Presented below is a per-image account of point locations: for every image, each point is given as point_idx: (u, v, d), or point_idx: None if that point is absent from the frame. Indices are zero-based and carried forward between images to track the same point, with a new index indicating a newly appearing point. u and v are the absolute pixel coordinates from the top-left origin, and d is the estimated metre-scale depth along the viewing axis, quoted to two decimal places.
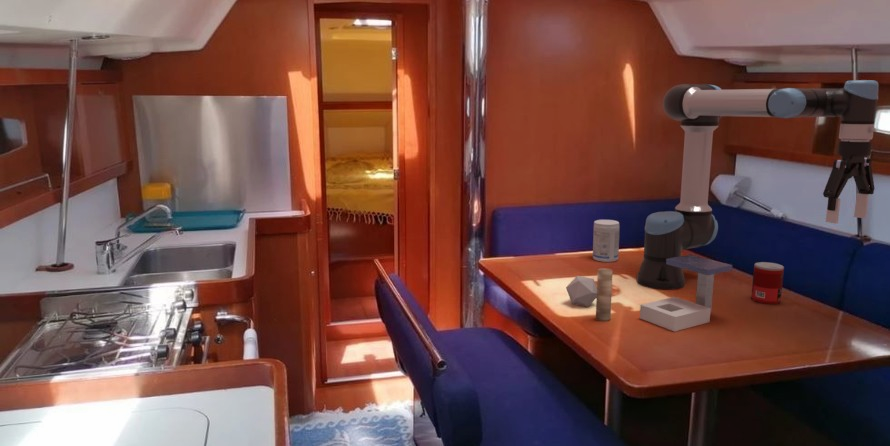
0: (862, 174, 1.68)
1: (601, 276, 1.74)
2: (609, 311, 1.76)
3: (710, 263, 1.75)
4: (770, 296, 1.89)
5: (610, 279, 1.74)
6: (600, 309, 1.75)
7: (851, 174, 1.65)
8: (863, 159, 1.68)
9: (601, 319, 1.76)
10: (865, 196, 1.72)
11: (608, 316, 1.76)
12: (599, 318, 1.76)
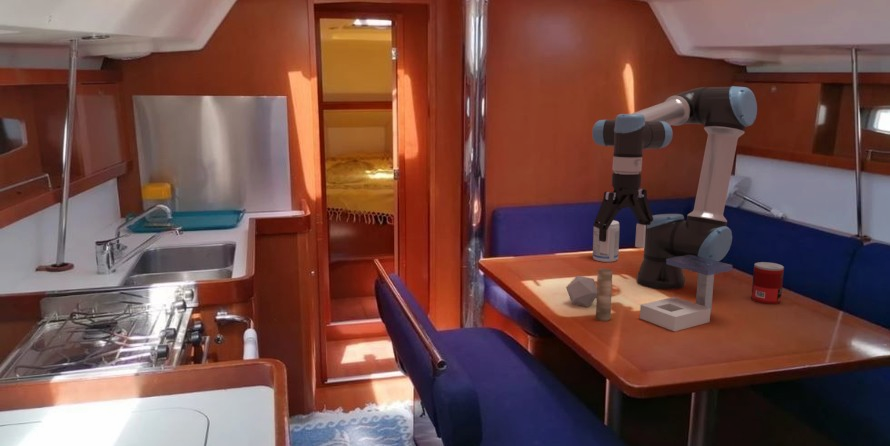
0: (635, 205, 1.71)
1: (601, 276, 1.74)
2: (609, 311, 1.76)
3: (710, 263, 1.75)
4: (770, 296, 1.89)
5: (610, 279, 1.74)
6: (600, 309, 1.75)
7: (621, 206, 1.68)
8: (636, 191, 1.71)
9: (601, 319, 1.76)
10: (642, 227, 1.75)
11: (608, 316, 1.76)
12: (599, 318, 1.76)
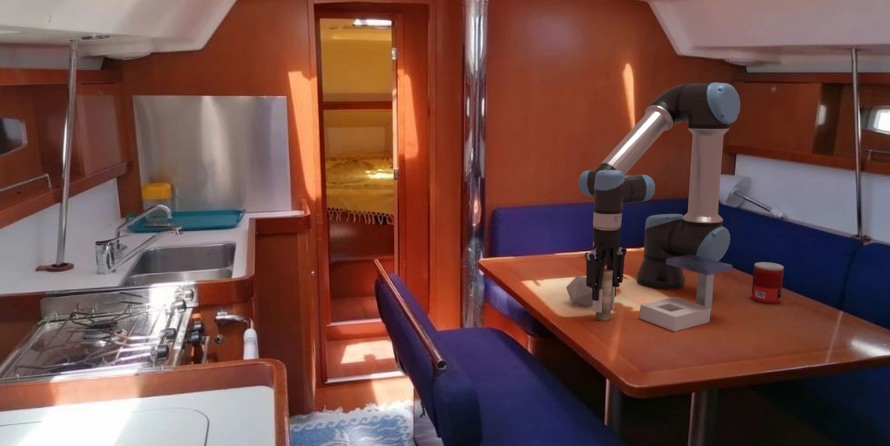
0: (612, 261, 1.74)
1: None
2: (609, 311, 1.76)
3: (710, 263, 1.75)
4: (770, 296, 1.89)
5: (610, 279, 1.74)
6: None
7: (604, 262, 1.72)
8: (617, 245, 1.74)
9: (601, 319, 1.76)
10: (612, 289, 1.76)
11: (608, 316, 1.76)
12: (599, 318, 1.76)
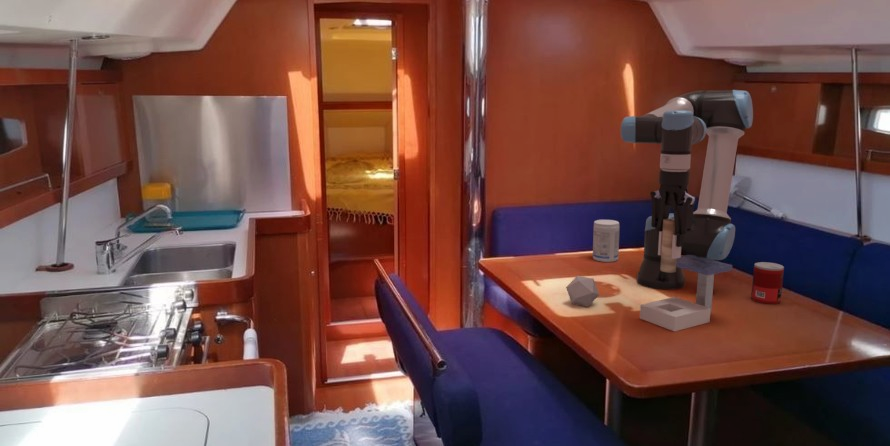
0: None
1: None
2: (664, 262, 1.71)
3: (710, 263, 1.75)
4: (770, 296, 1.89)
5: (666, 228, 1.69)
6: None
7: (662, 204, 1.70)
8: (680, 190, 1.65)
9: None
10: None
11: (663, 267, 1.71)
12: None
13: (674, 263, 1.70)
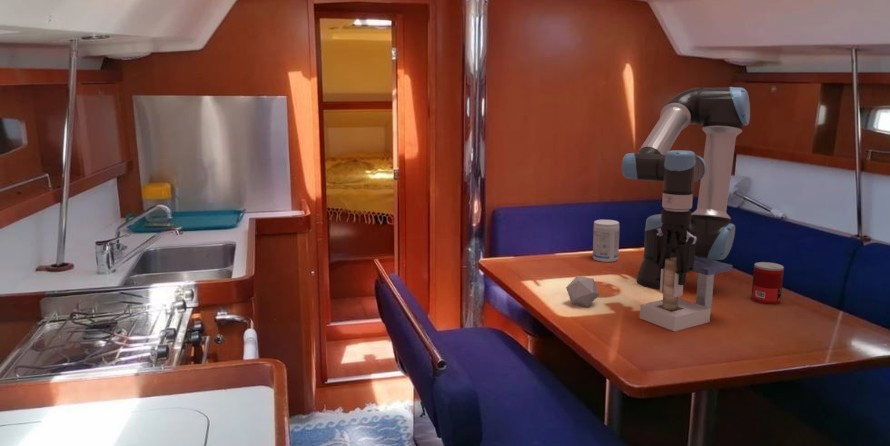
0: None
1: None
2: (666, 301, 1.72)
3: (710, 263, 1.75)
4: (770, 296, 1.89)
5: (668, 268, 1.71)
6: None
7: (664, 242, 1.72)
8: (682, 230, 1.67)
9: (662, 306, 1.75)
10: None
11: (665, 306, 1.73)
12: None
13: (676, 302, 1.72)
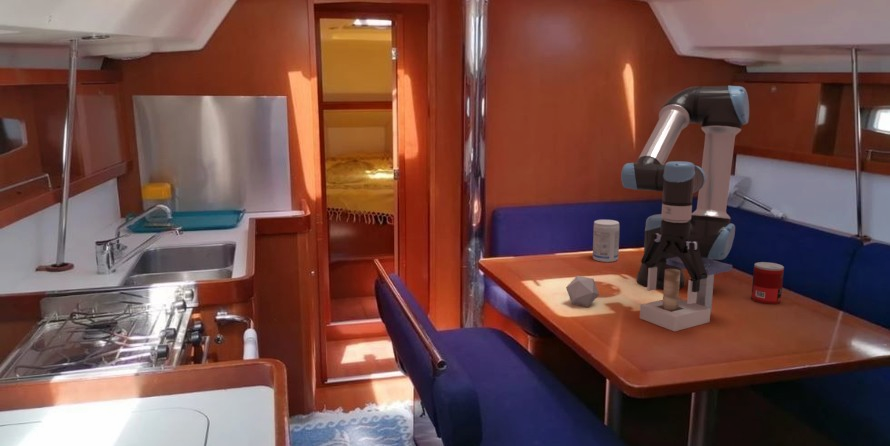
0: None
1: None
2: None
3: (710, 263, 1.75)
4: (770, 296, 1.89)
5: (667, 279, 1.71)
6: None
7: (660, 249, 1.73)
8: (680, 240, 1.67)
9: None
10: None
11: None
12: None
13: None
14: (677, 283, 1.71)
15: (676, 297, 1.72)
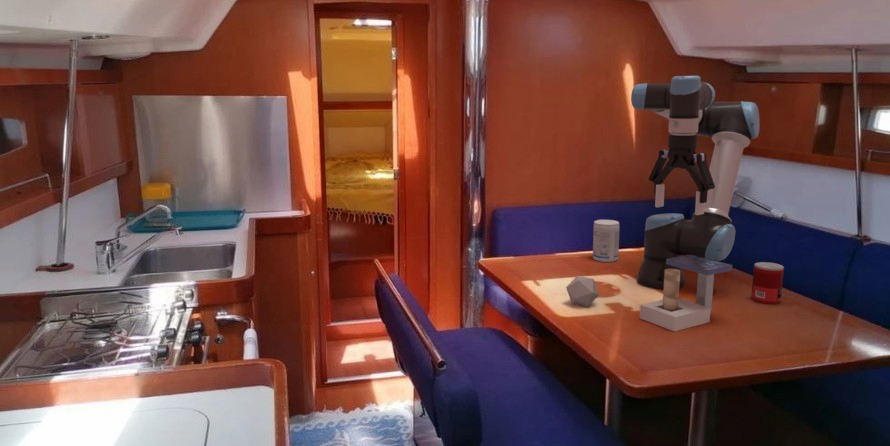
0: None
1: None
2: None
3: (710, 263, 1.75)
4: (770, 296, 1.89)
5: (667, 279, 1.71)
6: None
7: (667, 164, 1.76)
8: (688, 153, 1.71)
9: None
10: None
11: None
12: None
13: None
14: (677, 283, 1.71)
15: (676, 297, 1.72)
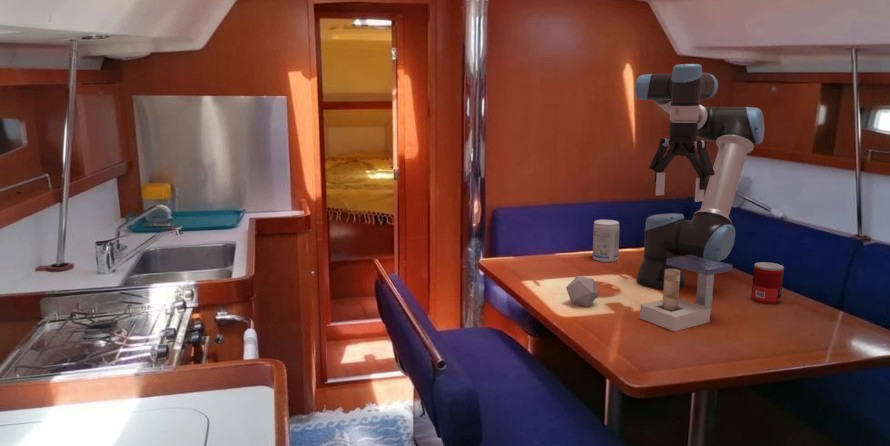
0: None
1: None
2: None
3: (710, 263, 1.75)
4: (770, 296, 1.89)
5: (667, 279, 1.71)
6: None
7: (668, 152, 1.79)
8: (688, 140, 1.73)
9: None
10: None
11: None
12: None
13: None
14: (677, 283, 1.71)
15: (676, 297, 1.72)
